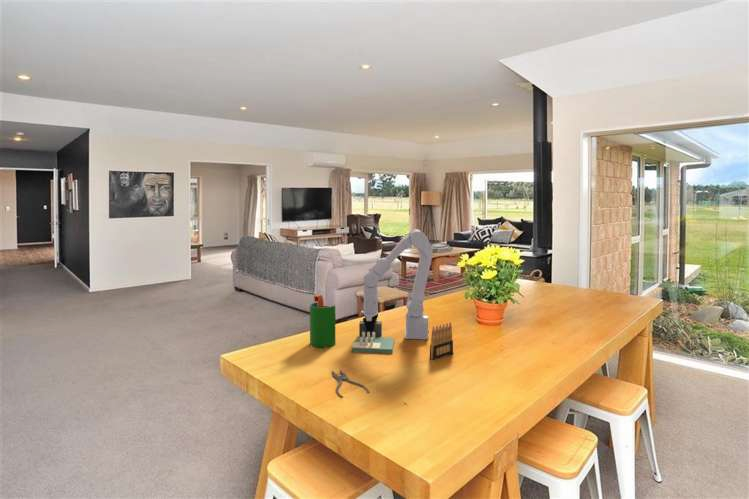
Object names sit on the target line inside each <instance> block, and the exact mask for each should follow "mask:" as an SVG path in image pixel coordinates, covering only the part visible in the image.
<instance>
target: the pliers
mask: <svg viewBox="0 0 749 499" xmlns="http://www.w3.org/2000/svg"><path fill="white" fill-rule="evenodd" d="M339 373H340V375H338V373H336V372H335V371H334V370H332V371H331V374H332V377H333V378H334V379H335V380H337V382H338V383H337V386H336V388H335V393H336V395H338V397H340V399H343V398H344V396H343V395H342V394H341V393H340V392H339V390H340V388H341V386H342V384H343V381H345V382H347V383H350V384H353V385H356V386H358V387H362V388H363V389H364V390H365V391H366V393H367V394H370V390H369V389H368V388H367V387H366V386H365V385H364V384H361V383H358V382H356V381H353V380H351V379H350V378H349V377H348V376H347V374H346V373H345V372H344V371H343V370H341V369H340V370H339Z"/></svg>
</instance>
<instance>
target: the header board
mask: <svg viewBox="0 0 749 499" xmlns="http://www.w3.org/2000/svg"><path fill="white" fill-rule="evenodd" d="M394 346H395V337H389V336H388V337H385V336H384V337H383V336H382V337H375V332H372V337H370V332H367V337H365V332H362V337H359V336H356V338H355V341H354V342H353V344H352V346H351V351H352V353H367V354H368V353H371V354H393V351H394Z"/></svg>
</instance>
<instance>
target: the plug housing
mask: <svg viewBox="0 0 749 499" xmlns="http://www.w3.org/2000/svg"><path fill="white" fill-rule="evenodd" d="M358 327H359V328H358V332H359V333H358V335H359V336H358V337H362V332H365V337H367V330H366V326H365V323H364V322H363V320H360V321H359V326H358ZM374 332H375V337H383V321H376V323H375V326H374ZM370 337H372V335H370Z"/></svg>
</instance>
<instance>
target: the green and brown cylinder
mask: <svg viewBox="0 0 749 499" xmlns="http://www.w3.org/2000/svg"><path fill="white" fill-rule="evenodd" d="M313 301H314V302H312V303H310V304H309V344H310V346H312V347H314V348H319V349H320V348H330V347H333V346H335V345H336V304H335V305H330V306H328V305H325V303H324V297H323V295H320V294H315V295H314V298H313Z"/></svg>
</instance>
